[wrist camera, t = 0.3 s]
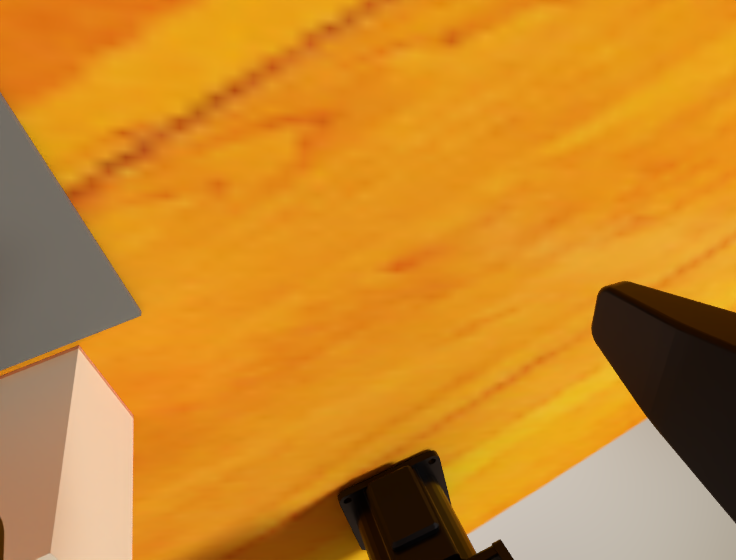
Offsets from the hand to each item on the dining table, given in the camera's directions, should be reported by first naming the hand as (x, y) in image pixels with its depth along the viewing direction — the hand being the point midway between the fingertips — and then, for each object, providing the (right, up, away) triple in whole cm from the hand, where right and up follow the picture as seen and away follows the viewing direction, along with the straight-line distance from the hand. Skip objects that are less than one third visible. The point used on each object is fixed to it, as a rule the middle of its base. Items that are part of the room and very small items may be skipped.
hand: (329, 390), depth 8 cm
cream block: (-12, -4, +15) cm, 20 cm away
